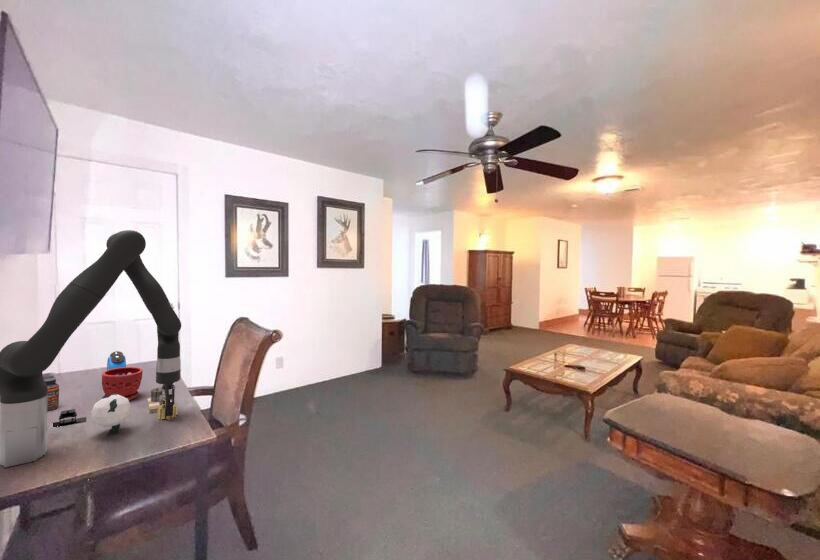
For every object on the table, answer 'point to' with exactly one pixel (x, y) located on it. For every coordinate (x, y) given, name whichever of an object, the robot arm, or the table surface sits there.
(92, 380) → the table surface
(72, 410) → the black flared hood
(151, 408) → the gear board
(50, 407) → the supplement bottle
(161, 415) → the brass gear
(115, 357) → the alarm clock
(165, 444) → the table surface
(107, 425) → the figurine
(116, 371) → the plant pot
